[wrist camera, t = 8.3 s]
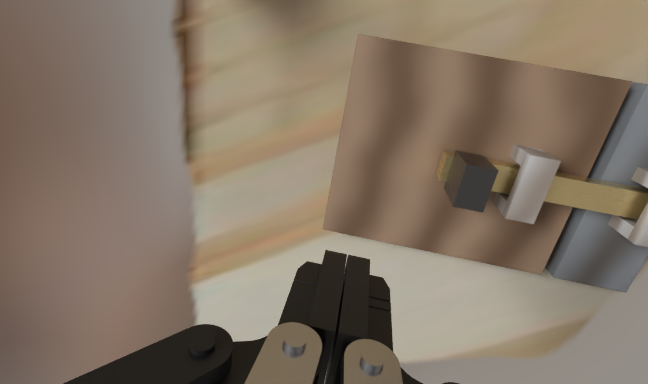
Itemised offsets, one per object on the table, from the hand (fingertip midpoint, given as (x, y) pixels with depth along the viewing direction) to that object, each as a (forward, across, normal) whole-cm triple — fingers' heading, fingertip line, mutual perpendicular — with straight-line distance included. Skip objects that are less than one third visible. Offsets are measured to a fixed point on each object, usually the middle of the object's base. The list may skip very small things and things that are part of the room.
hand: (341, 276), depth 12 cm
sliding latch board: (+20, -11, 0) cm, 23 cm away
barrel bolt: (+18, -14, 0) cm, 23 cm away
